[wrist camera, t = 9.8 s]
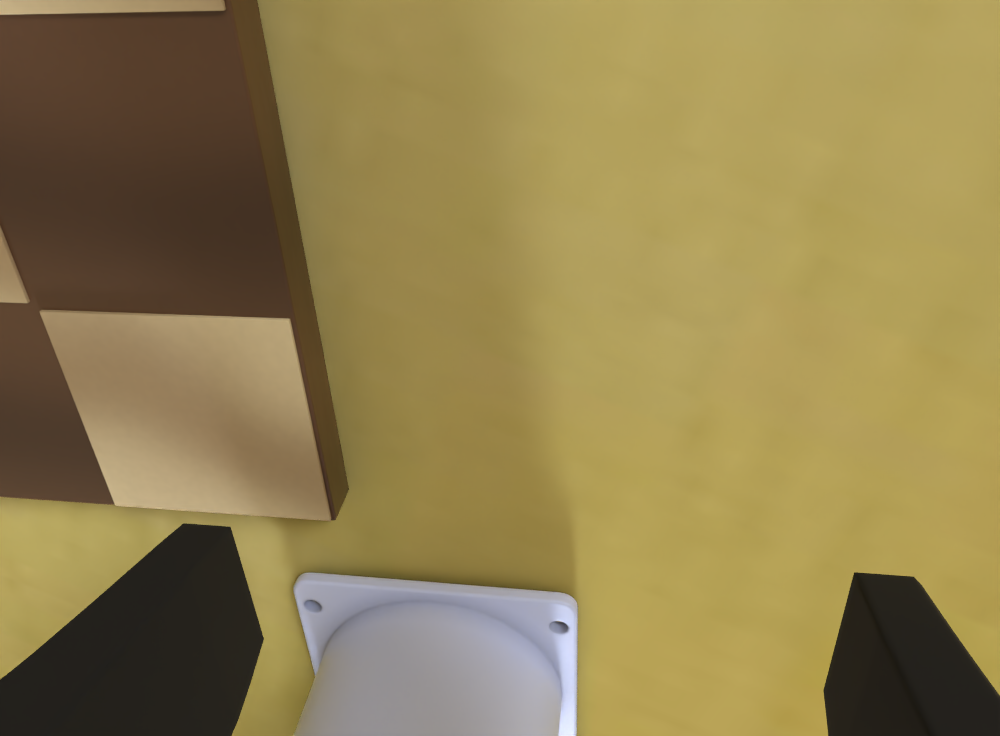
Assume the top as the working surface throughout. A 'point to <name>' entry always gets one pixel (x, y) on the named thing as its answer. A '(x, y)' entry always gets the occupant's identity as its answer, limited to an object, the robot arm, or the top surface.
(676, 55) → the top surface
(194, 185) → the game board
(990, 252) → the top surface
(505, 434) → the top surface
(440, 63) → the top surface
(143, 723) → the robot arm
